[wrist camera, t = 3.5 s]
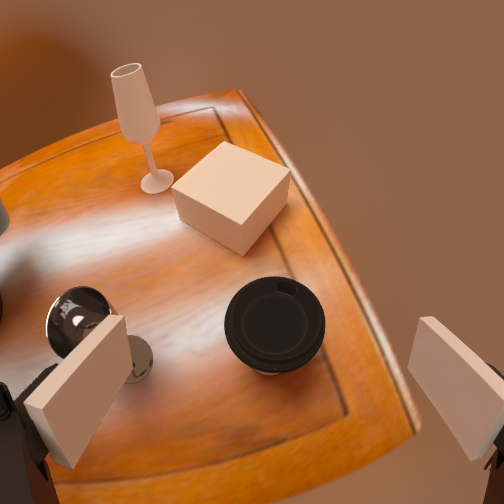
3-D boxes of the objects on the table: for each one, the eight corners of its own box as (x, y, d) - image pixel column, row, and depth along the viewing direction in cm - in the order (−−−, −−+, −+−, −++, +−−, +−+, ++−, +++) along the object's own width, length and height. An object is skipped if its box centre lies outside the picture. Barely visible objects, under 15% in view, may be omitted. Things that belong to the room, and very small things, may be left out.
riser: (243, 256, 47) (241, 225, 41) (180, 219, 51) (170, 186, 44) (286, 203, 53) (290, 169, 46) (226, 174, 57) (223, 141, 50)
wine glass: (108, 330, 41) (56, 284, 28) (158, 334, 41) (117, 287, 28) (101, 382, 36) (39, 354, 24) (153, 390, 36) (104, 367, 24)
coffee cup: (297, 317, 42) (317, 263, 29) (309, 383, 37) (339, 358, 24) (229, 326, 41) (218, 274, 29) (236, 393, 36) (227, 375, 24)
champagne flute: (179, 171, 58) (155, 59, 37) (165, 196, 54) (132, 79, 34) (149, 167, 59) (120, 62, 38) (134, 191, 55) (95, 82, 35)
